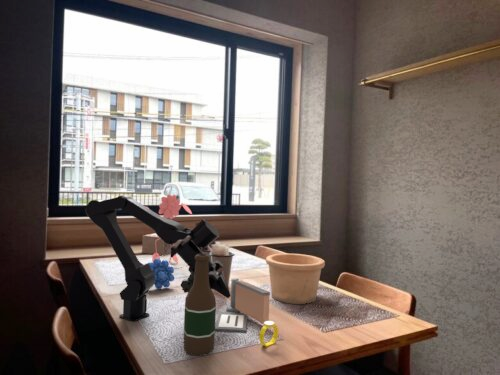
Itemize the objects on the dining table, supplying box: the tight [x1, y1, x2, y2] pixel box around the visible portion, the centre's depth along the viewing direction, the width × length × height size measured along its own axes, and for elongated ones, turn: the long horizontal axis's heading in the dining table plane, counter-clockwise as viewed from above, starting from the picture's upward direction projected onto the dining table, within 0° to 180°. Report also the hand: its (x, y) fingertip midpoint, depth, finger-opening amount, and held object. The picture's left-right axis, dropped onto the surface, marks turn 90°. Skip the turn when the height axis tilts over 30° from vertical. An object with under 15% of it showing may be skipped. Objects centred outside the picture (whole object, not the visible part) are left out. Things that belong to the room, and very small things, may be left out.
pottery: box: [265, 253, 326, 305], centre depth 142 cm, size 22×22×14 cm
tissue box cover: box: [141, 233, 190, 256], centre depth 223 cm, size 26×14×10 cm, turn 156°
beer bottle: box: [183, 253, 217, 357], centre depth 95 cm, size 8×8×24 cm
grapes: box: [148, 258, 175, 290], centre depth 145 cm, size 12×7×12 cm, turn 118°
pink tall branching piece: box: [146, 193, 193, 270], centre depth 184 cm, size 15×26×35 cm, turn 132°
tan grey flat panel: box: [229, 277, 271, 325], centre depth 118 cm, size 18×2×9 cm, turn 36°
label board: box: [215, 304, 248, 333], centre depth 117 cm, size 20×9×1 cm, turn 179°
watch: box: [259, 320, 279, 348], centre depth 100 cm, size 6×3×6 cm, turn 135°
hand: (229, 296), depth 113 cm, fingers closed
